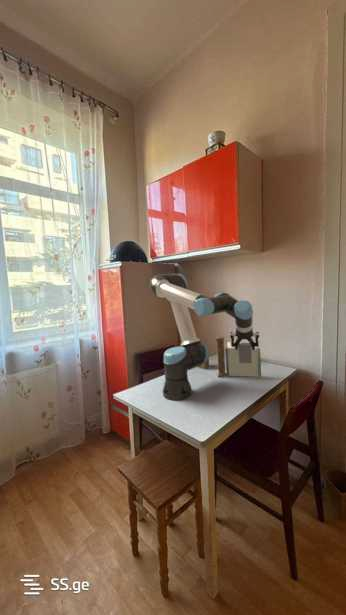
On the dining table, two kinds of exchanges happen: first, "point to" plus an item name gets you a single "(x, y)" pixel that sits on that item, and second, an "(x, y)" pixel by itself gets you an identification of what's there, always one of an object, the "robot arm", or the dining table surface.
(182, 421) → the dining table surface
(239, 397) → the dining table surface
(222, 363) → the door post
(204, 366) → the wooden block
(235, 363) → the door
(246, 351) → the dark grey upright block
